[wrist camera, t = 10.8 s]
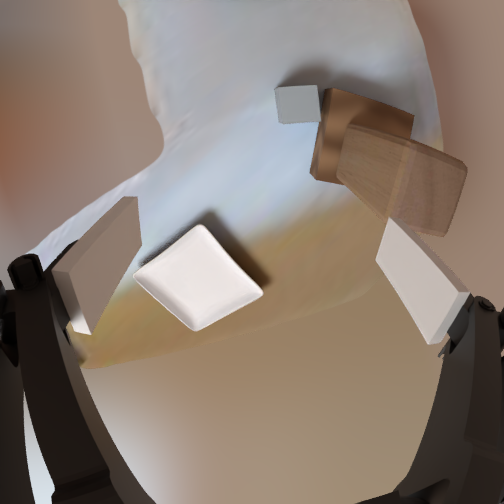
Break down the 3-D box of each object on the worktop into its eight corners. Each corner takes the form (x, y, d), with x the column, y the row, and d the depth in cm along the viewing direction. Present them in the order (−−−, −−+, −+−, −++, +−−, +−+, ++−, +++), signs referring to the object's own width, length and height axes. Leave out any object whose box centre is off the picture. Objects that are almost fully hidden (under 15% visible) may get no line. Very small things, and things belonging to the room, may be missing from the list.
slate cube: (274, 89, 41) (278, 87, 36) (308, 87, 40) (316, 85, 35) (278, 122, 44) (283, 124, 39) (312, 119, 43) (321, 121, 38)
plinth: (324, 89, 40) (333, 88, 36) (400, 113, 42) (414, 115, 37) (309, 172, 48) (315, 179, 44) (383, 187, 50) (394, 196, 45)
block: (395, 136, 40) (472, 166, 22) (382, 188, 45) (446, 241, 27) (345, 121, 39) (411, 138, 22) (333, 177, 44) (385, 229, 27)
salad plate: (196, 324, 68) (194, 334, 65) (134, 268, 59) (129, 277, 56) (265, 285, 62) (266, 295, 59) (203, 214, 53) (200, 221, 50)
